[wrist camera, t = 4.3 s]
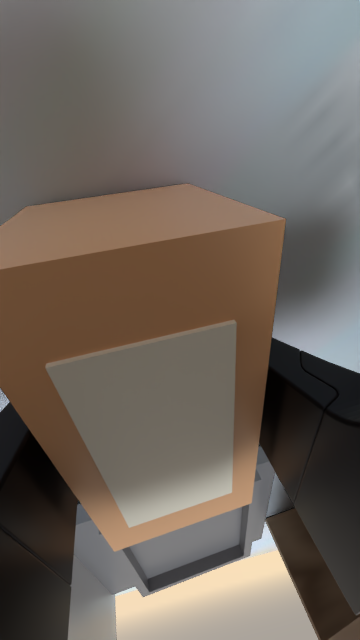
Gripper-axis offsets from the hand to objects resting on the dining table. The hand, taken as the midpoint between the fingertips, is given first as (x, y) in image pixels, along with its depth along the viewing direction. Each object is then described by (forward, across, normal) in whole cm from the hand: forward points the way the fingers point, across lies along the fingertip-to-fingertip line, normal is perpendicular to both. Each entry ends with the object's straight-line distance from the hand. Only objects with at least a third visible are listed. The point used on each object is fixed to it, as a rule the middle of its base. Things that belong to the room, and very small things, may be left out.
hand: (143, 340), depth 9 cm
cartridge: (+1, 0, 0) cm, 1 cm away
